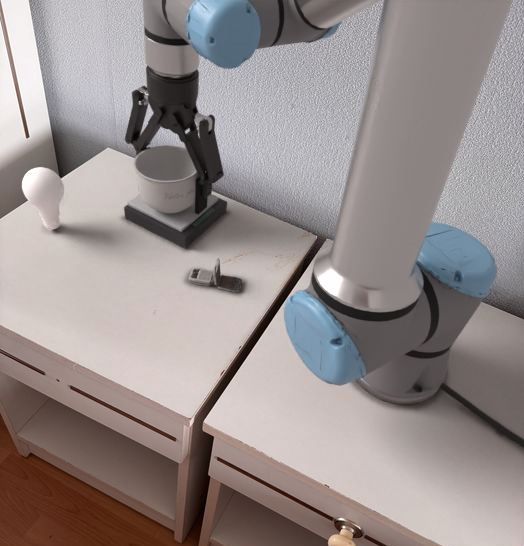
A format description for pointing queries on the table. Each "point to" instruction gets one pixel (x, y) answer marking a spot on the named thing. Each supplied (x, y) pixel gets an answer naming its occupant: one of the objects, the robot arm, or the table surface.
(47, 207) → the lightbulb
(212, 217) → the scale
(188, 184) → the teacup
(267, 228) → the table surface
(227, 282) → the strap clip
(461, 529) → the table surface
